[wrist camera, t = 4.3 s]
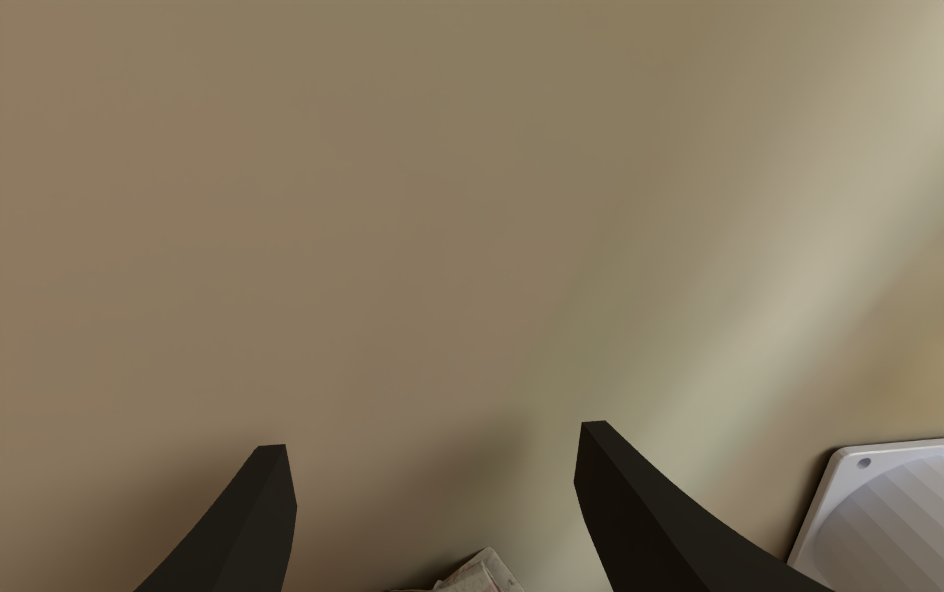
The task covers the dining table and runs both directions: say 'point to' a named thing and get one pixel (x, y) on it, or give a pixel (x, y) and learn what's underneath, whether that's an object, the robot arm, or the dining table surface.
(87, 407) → the dining table surface
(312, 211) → the dining table surface
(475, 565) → the origami crane
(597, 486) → the robot arm
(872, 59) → the dining table surface
